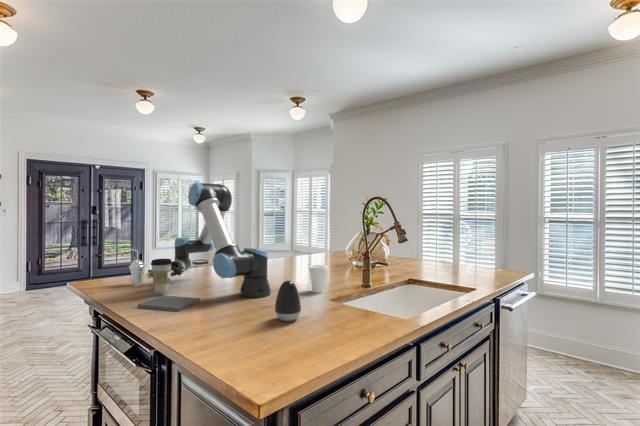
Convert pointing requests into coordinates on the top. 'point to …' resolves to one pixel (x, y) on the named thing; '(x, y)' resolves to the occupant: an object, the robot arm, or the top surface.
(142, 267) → the cup with straw
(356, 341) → the top surface
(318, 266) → the foam cup
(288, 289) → the black egg shaped speaker
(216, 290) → the top surface
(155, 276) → the coffee cup
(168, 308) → the mat
